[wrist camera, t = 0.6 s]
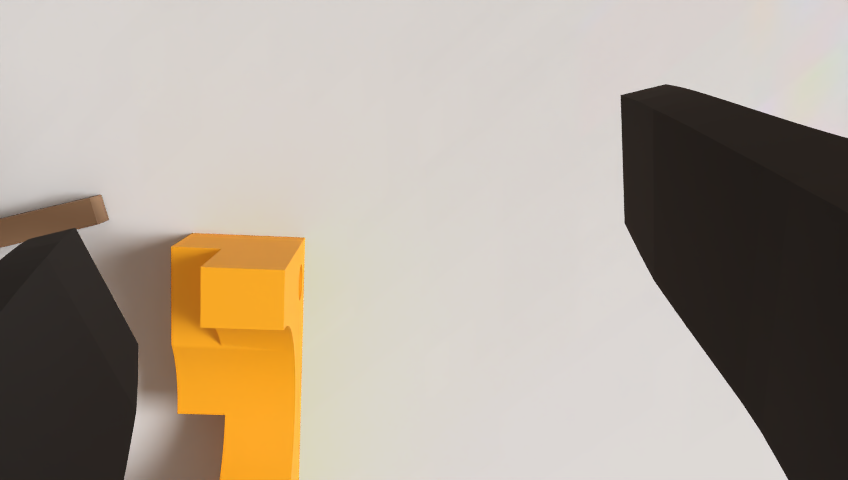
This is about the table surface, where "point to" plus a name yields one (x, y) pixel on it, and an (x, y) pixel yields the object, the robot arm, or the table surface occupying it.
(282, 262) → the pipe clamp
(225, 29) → the table surface
